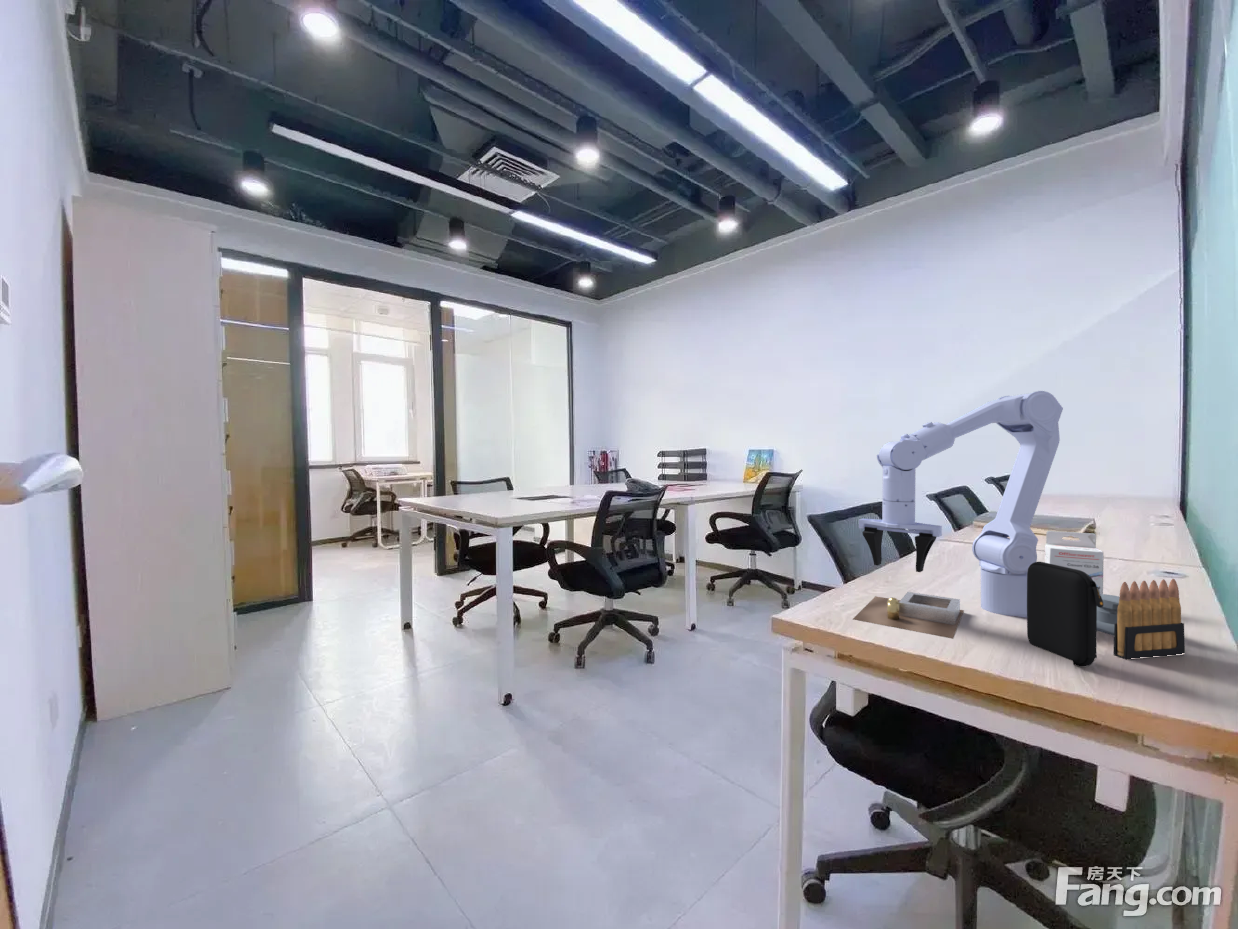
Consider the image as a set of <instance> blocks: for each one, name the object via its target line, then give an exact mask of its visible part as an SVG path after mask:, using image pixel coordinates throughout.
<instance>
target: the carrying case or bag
mask: <svg viewBox="0 0 1238 929" xmlns="http://www.w3.org/2000/svg"><path fill="white" fill-rule="evenodd" d="M1097 606H1098V607H1099V608H1101V607H1103V600H1102V597H1101V594H1100V591H1099V587H1097V586H1096V583H1095V582H1094V581H1093V580H1092V578H1091V577H1090V576H1089V575H1088V574H1086V573H1085V572H1083V571H1081V570H1077V569H1072V568H1068V567H1063V566H1058V565H1054V564H1049V563H1045V561H1036V562H1034V563H1032V564H1031V565H1030V566H1029V568H1028V572H1027V618H1026V629H1027V630H1026V632H1027V634H1026V635H1027V640H1028V642H1029V644H1030V645H1032V646H1034V647H1037V648H1040V649H1042V650H1043V651H1044V650H1045V651H1047V652H1048V653H1049V652H1050V653H1052V654H1054V655H1057V656H1058V657H1059V656H1060V657H1062V658H1065V659H1067V660H1070V661H1072V663H1073V665H1074V666H1077V667H1081V668H1082V667H1085V668H1086V667H1089V666H1091V665H1092V664H1093V663H1094V661H1095V659H1097V657H1098V656H1097V639H1098V638H1097V635H1098V633H1097Z"/></svg>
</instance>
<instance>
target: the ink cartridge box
mask: <svg viewBox="0 0 1238 929" xmlns="http://www.w3.org/2000/svg"><path fill="white" fill-rule="evenodd" d="M1045 537H1046V538H1045V541H1046V543H1045V544H1044V562H1045V563H1049V564H1054V565H1058V566H1063V567H1068V568H1072V569H1077V570H1081V571H1083V572H1085V573H1086V574H1088V575H1089V576H1090V577H1091V578H1092V580H1093V581H1094V582H1095V583H1096V586H1097V587H1099V591H1100V594H1104V559H1105V558H1104V556H1105V555H1104V551H1103V550H1101V549H1099V548H1098V547H1097V546H1096V545H1097V534H1095V533H1093V532H1091V533H1089V532H1074V531H1057V530H1056V531H1055V530H1054V531H1053V530H1047V531H1046V536H1045ZM1069 537H1073V538H1074V540H1072V539H1063V538H1069ZM1075 538H1078V539H1079V540H1075Z"/></svg>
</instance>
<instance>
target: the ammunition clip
mask: <svg viewBox="0 0 1238 929" xmlns="http://www.w3.org/2000/svg"><path fill="white" fill-rule="evenodd" d="M1185 642H1186V641H1185V623H1184V622H1182V606H1181V602H1180V590H1179V585H1178V583H1177V581H1176V579H1175V578H1172V579H1171V580H1170V582H1169V584H1168V583H1167V581H1166V580H1165V579H1162V580H1161V581H1160V583H1159V585H1158V584H1157V581H1156V580H1155V579H1152V580H1151V582H1150V584H1149V585H1148V583H1147V581H1146V580H1143V581H1142V582H1141V583H1140V586H1139V584H1138V583H1137V582H1136V581H1135V580H1134V581H1133V582H1132V583H1131V584H1130V587H1129V585H1128V583H1127V582H1126V581H1123V583H1121V586H1120V590H1119V605H1118V609H1117V623H1115V624H1114V636H1113V655H1114V656H1116V657H1118V658H1121V657H1122V659H1124V658H1125V659H1124V660H1127V659H1131V658H1140V657H1153V656H1167V655H1176V654H1182V653H1185V654H1186V645H1185ZM1131 660H1132V659H1131Z"/></svg>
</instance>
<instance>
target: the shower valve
mask: <svg viewBox="0 0 1238 929" xmlns="http://www.w3.org/2000/svg"><path fill="white" fill-rule="evenodd" d="M1101 597H1102V600H1103V607H1101V608H1099V607H1098V606H1097V631H1098V632H1101V633H1104V634H1107V635H1110V636H1113V637H1114V624H1115V623H1117V609H1118V605H1119V597H1120V595H1112V594H1104V593H1103V594H1101Z"/></svg>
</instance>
